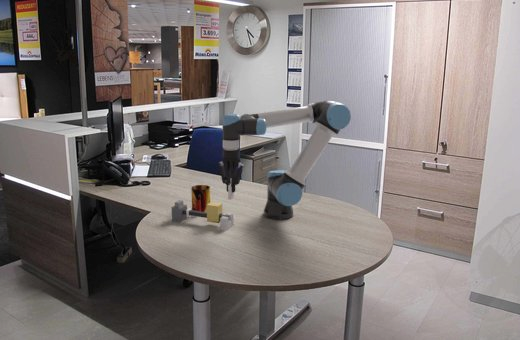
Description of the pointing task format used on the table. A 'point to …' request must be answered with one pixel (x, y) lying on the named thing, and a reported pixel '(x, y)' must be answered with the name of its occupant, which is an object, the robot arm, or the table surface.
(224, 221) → the gray notched block
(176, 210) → the block
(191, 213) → the dark grey rod
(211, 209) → the sleeve
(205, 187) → the mug
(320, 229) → the table surface
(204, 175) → the table surface
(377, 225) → the table surface
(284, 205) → the robot arm
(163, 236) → the table surface
